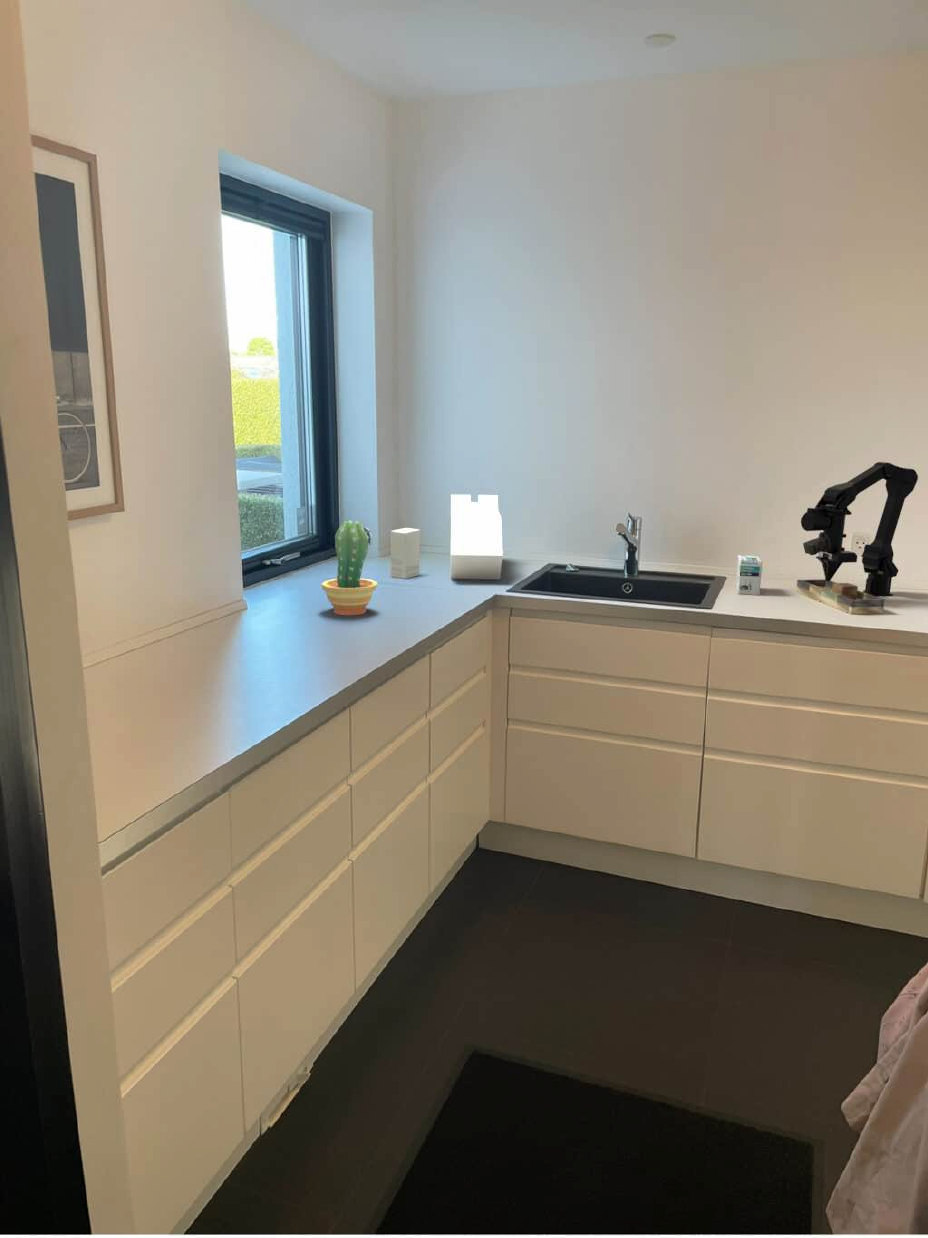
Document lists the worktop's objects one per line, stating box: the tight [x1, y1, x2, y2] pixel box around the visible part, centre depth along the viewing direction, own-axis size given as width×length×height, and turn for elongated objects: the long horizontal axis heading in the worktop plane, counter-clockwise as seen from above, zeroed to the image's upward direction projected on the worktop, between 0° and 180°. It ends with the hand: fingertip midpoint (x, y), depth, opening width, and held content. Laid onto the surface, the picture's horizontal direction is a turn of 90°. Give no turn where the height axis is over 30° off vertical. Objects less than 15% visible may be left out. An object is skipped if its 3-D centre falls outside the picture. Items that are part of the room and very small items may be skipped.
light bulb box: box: [735, 554, 763, 596], centre depth 289 cm, size 11×7×11 cm, turn 169°
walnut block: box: [832, 582, 859, 600], centre depth 272 cm, size 5×5×4 cm
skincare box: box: [390, 527, 421, 580], centre depth 304 cm, size 8×7×16 cm
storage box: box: [449, 494, 504, 580], centre depth 312 cm, size 26×16×35 cm
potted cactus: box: [321, 520, 378, 616], centre depth 252 cm, size 15×16×25 cm
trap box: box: [795, 578, 886, 615], centre depth 276 cm, size 10×30×4 cm, turn 10°
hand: (827, 580), depth 281 cm, fingers closed
